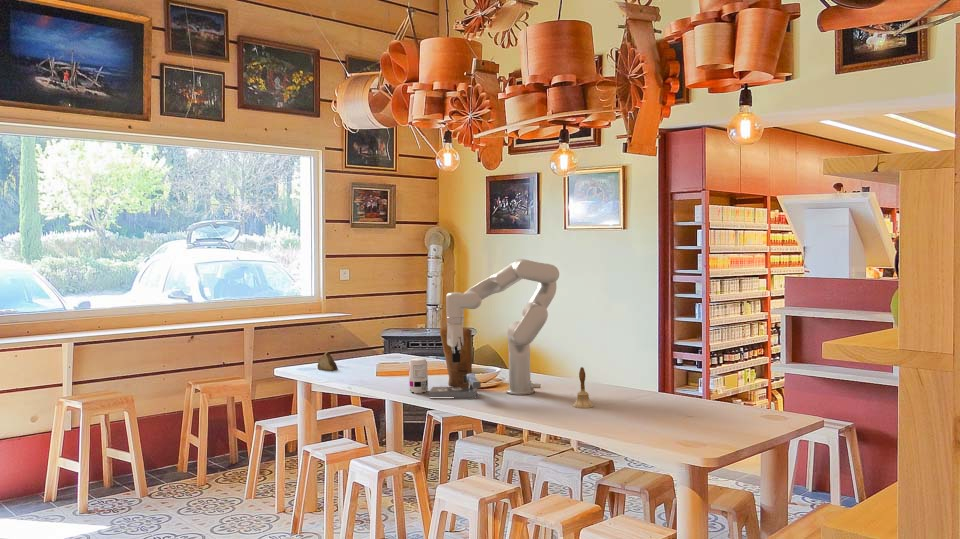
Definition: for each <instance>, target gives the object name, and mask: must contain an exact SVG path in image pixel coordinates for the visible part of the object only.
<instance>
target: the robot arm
mask: <svg viewBox="0 0 960 539" xmlns="http://www.w3.org/2000/svg"><path fill="white" fill-rule="evenodd" d="M559 278H560V271H559V269H558V267H557V266H555V265H554V264H550V263H544V262H538V261H533V260H529V259H524V258H518V259H516V260H514V261H512V262H511V263H510V264H507V265H505V267H504V268H502V269H500V270H499V271H496V272H495V273H494V274H492V275H490V276H488V277H487V278H485V279H483V280H482V281H479V282H478V283H477V284H475V285H474V286H471V287H470V288H468V289H466V291H464V292H463V293H462V292H459V291H454V292H448V293H447V294H446V296H445V301H446V303H445V304H446V308H445V309H446V324H447V344H448V345H449V346H451V347H452V362H454V363H455V362H460V350H461V347H462V346H463V328H464V327H463V325H464V324H465V318H464V317H465V316H464V315H465V314H464V313H465V312H464V310H465V309H467V310H468V309H469V310H475V309H478V308H479V307H481V305H482V301H483V300H485V299H486V298H488V297H490V296H492V295H495V294H499V293H501V292H504V291H506V290H507V289H509V288H511V287H512V286H514V285H515V284H517V283H518V282H520V281H522V280H527V281H532V282H535V283H536V282H537V287H536V289H535V291H534V293H533V294H532V296H531V297H530V299H529V300H528V301H527V303H526V304H525V305H524V307H523V309H522V311H521V312H522V313H521V314H522V319H521V320H520V321H514V322H512V323H511V324H509V326H508V329H507V334H506V335H507V336H506V337H507V345H508V383H509V384H508V385H509V387H508V388H506V389H505V393H506V394H509V395H515V396H518V395H519V396H522V395H523V396H524V395H530V394H533V393H534V392H535V389H541V388H542V386H541V385H542V384H541V383H533V382H532V380H531V346H530V344H532V342H533V341H534V340H535V339H536V337H537V336H538V334H539V333H540V331H541V330H542V329H543V327H544V325H545V324H546V322H547V320H548V316H549V312H548V307H549V306H550V304H551V302H553V299H554V298H555V295H556V292H557V281H558V279H559Z"/></svg>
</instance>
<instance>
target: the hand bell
mask: <svg viewBox="0 0 960 539" xmlns="http://www.w3.org/2000/svg"><path fill="white" fill-rule="evenodd" d="M578 378H579V381H580V382H579V383H580V391H579V392H577V396H576V401H575V402H574V403H573V404H572V407H573V408H576V409H590V408H593V407H594V403H592V401H591V400H590V395H589V392H587V391H586V389H585V381H586V371H585V368H584V367H582V366H581V367H580V369H579V372H578Z"/></svg>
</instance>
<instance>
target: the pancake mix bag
mask: <svg viewBox="0 0 960 539" xmlns="http://www.w3.org/2000/svg"><path fill="white" fill-rule="evenodd" d="M472 333H473V330H472V329H470V328H467V327H463V346H462V347H461V350H460V362H455V363H454V362H452V347H451V346H449V345H448V344H447V327H445V326H441V328H440V329H439V335H440V339H441V344H442V350H443V353H444V354H443V355H444V358H445V364H446V369H447V374H448V387H469V381H468V380H467V374H473V372H472V371H473V368H472V367H473V345H472V344H473V343H472V342H473V340H472V336H473V335H472Z"/></svg>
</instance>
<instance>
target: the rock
mask: <svg viewBox="0 0 960 539" xmlns="http://www.w3.org/2000/svg"><path fill="white" fill-rule="evenodd" d="M316 365H317V369H318V370H324V371H336V370H339V368H338V365H337V363H336V361H335V360H334V358H333V356H332V355H331V354H330V353H329V352H328V351H325V353H324V354H323V355H322V356H321V357H320V358H319V360H318V363H317V364H316Z"/></svg>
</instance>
